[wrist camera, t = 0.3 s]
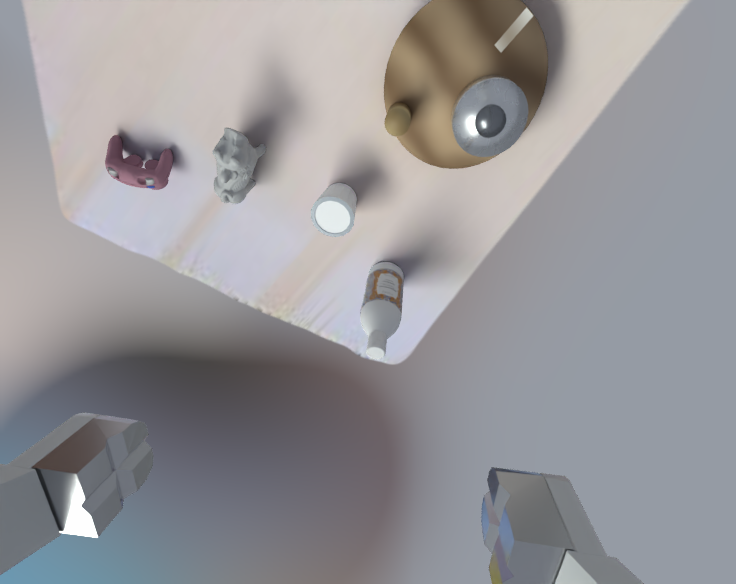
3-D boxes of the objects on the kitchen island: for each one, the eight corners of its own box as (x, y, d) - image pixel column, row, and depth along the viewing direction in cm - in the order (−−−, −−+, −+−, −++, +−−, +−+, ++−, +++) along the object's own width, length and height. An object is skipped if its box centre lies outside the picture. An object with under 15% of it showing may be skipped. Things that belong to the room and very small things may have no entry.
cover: (490, 56, 42) (496, 60, 39) (537, 109, 45) (546, 117, 42) (436, 119, 47) (437, 127, 44) (482, 163, 50) (486, 173, 47)
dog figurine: (274, 123, 53) (247, 144, 45) (254, 194, 61) (228, 223, 52) (240, 106, 52) (206, 124, 44) (224, 180, 60) (193, 207, 51)
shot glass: (348, 172, 56) (341, 189, 51) (367, 208, 60) (361, 228, 54) (313, 188, 59) (302, 206, 53) (333, 222, 62) (324, 243, 57)
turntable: (467, -65, 37) (473, -75, 33) (578, 74, 43) (596, 81, 39) (355, 99, 48) (348, 108, 44) (457, 191, 54) (460, 207, 50)
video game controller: (125, 152, 60) (104, 183, 57) (111, 131, 56) (88, 163, 53) (182, 167, 61) (164, 198, 58) (172, 147, 57) (153, 180, 54)
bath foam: (409, 267, 66) (405, 345, 51) (396, 293, 71) (390, 372, 55) (374, 256, 66) (359, 332, 50) (364, 283, 70) (348, 360, 55)
